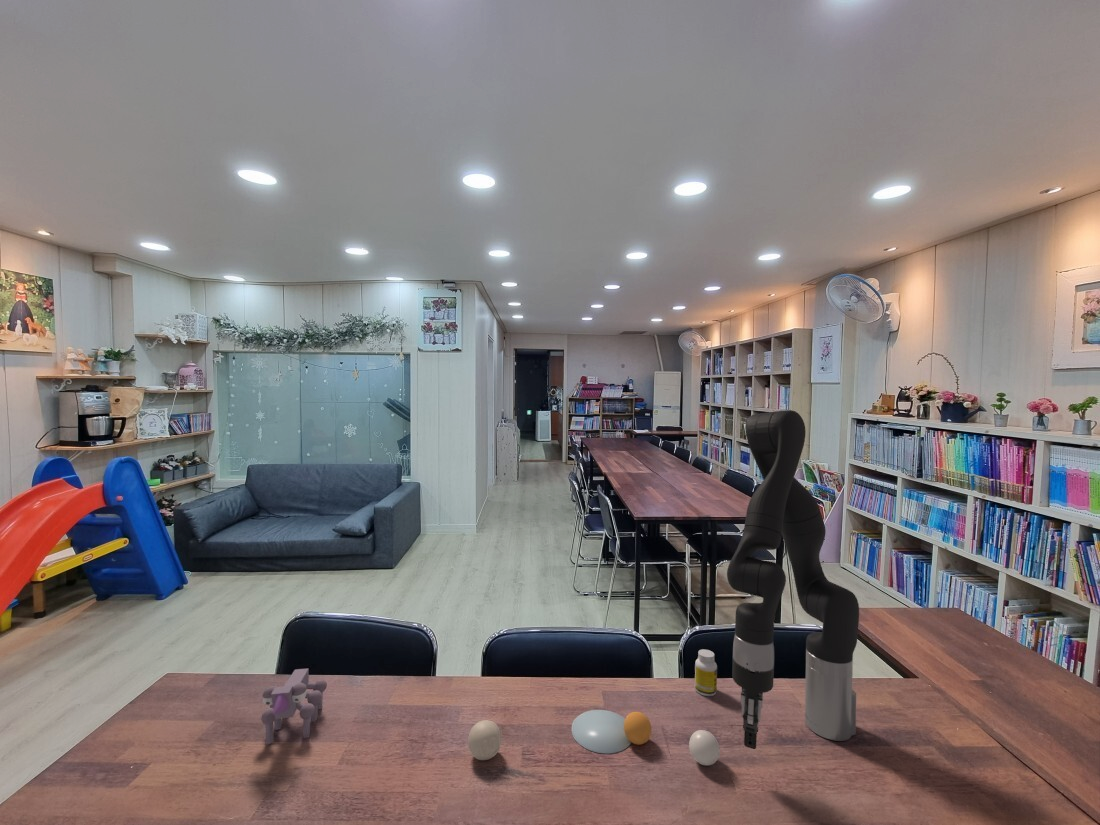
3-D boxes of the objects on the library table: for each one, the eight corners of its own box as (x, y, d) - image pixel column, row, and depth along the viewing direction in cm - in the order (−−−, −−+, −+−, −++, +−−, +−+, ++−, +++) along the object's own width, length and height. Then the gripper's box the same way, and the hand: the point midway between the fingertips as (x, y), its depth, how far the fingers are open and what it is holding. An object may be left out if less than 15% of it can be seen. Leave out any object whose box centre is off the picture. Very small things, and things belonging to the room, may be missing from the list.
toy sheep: (302, 766, 95) (299, 699, 94) (244, 776, 93) (240, 708, 92) (330, 704, 114) (327, 649, 114) (282, 711, 112) (279, 655, 112)
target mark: (624, 709, 114) (624, 708, 114) (641, 751, 100) (641, 750, 100) (567, 712, 112) (567, 711, 112) (576, 755, 98) (576, 754, 98)
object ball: (646, 731, 106) (646, 704, 106) (655, 750, 100) (655, 722, 100) (620, 732, 105) (620, 706, 105) (627, 752, 99) (627, 724, 99)
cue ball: (711, 750, 100) (711, 722, 100) (724, 772, 94) (725, 742, 94) (684, 752, 100) (684, 724, 100) (696, 774, 94) (696, 744, 94)
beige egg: (475, 774, 93) (475, 741, 93) (464, 750, 99) (464, 719, 99) (506, 762, 96) (507, 730, 96) (494, 740, 103) (494, 710, 103)
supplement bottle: (718, 698, 118) (718, 659, 118) (695, 695, 119) (696, 657, 119) (715, 685, 124) (715, 649, 123) (693, 683, 125) (694, 646, 124)
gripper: (735, 640, 101) (732, 720, 101) (730, 670, 89) (727, 761, 89) (773, 648, 98) (771, 731, 98) (774, 681, 86) (770, 775, 86)
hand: (750, 745), depth 93 cm, fingers closed
